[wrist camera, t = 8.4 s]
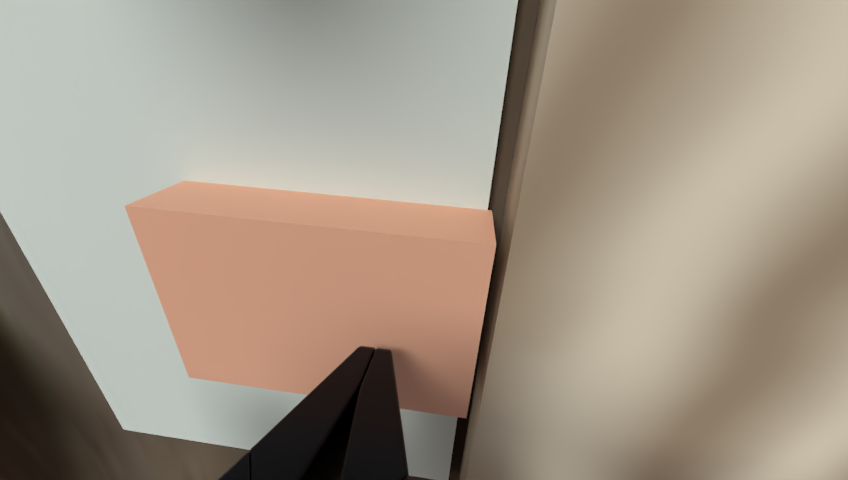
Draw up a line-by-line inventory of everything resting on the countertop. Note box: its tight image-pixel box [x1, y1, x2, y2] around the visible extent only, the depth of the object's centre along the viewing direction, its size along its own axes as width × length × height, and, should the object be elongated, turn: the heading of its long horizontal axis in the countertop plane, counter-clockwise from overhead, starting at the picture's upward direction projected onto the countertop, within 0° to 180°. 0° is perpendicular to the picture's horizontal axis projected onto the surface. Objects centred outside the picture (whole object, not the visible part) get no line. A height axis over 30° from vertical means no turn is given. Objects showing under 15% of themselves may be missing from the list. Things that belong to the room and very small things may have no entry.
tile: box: [125, 181, 496, 418], centre depth 10 cm, size 9×6×2 cm, turn 87°
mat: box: [0, 0, 518, 480], centre depth 12 cm, size 16×20×1 cm
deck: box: [459, 0, 848, 480], centre depth 10 cm, size 14×20×2 cm
